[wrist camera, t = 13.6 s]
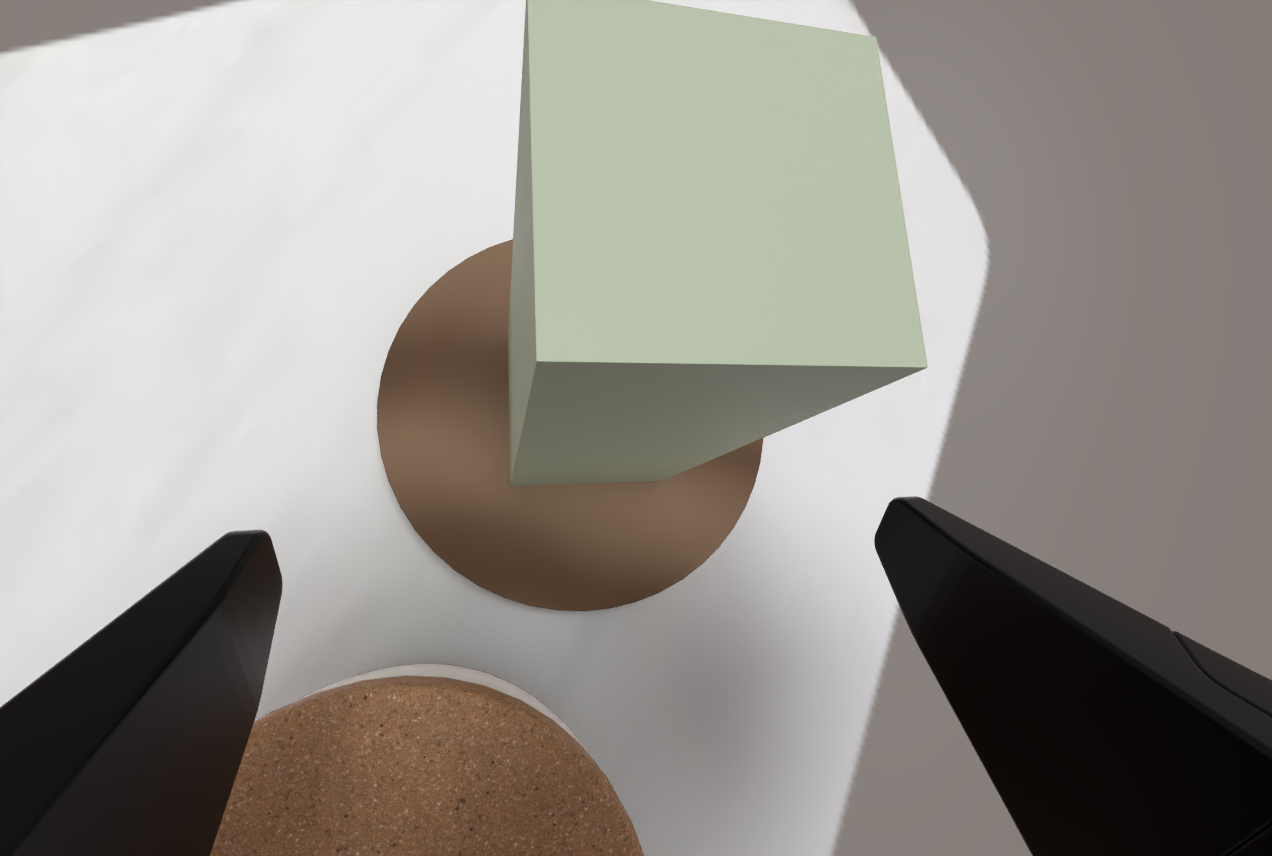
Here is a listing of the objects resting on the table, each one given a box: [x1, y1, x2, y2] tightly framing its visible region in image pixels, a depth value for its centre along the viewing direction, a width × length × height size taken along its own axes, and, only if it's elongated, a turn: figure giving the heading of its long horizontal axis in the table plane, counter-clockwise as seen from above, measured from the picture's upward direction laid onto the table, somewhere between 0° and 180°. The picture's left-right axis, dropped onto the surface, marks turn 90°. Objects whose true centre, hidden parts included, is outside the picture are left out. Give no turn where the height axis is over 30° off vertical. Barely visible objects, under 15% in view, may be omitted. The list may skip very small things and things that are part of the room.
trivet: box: [377, 239, 763, 611], centre depth 21 cm, size 13×13×2 cm
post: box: [508, 0, 928, 486], centre depth 14 cm, size 5×5×13 cm
